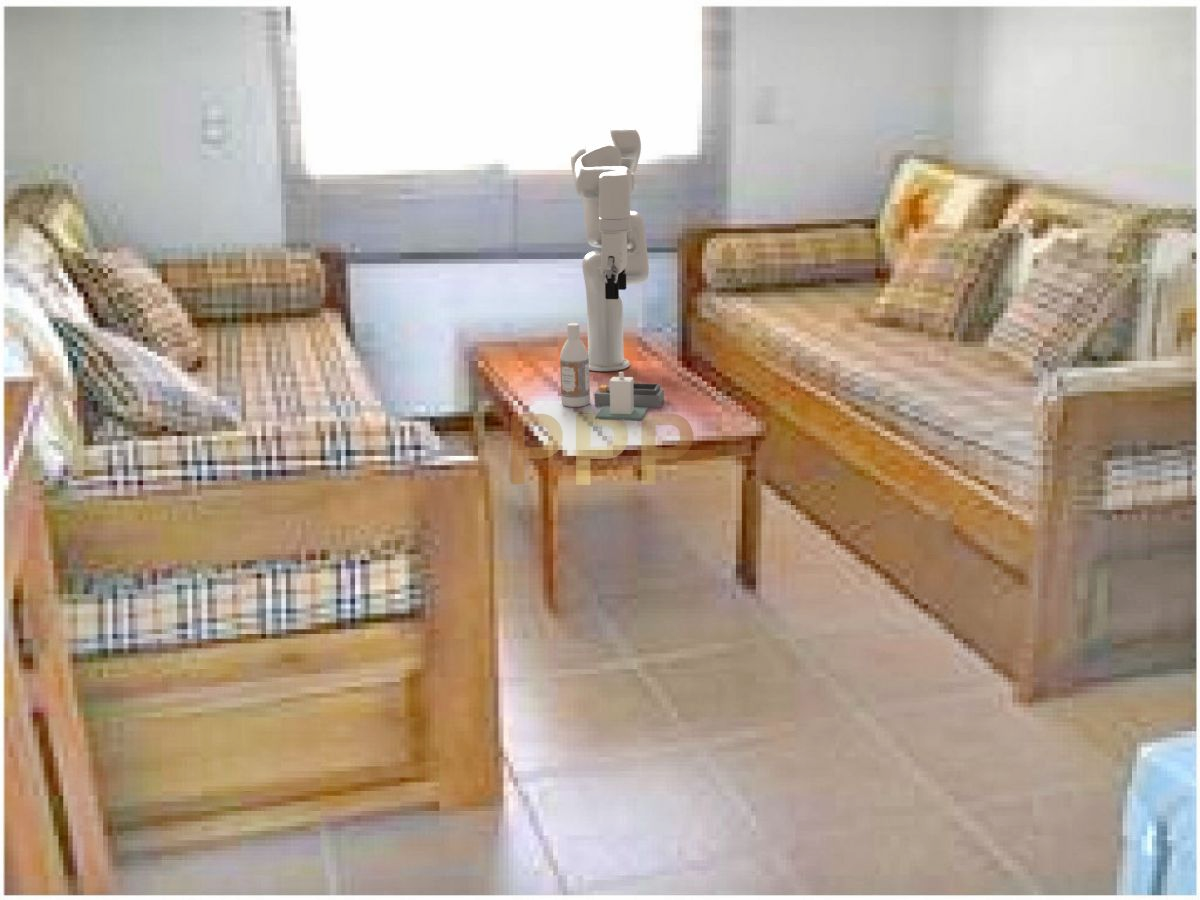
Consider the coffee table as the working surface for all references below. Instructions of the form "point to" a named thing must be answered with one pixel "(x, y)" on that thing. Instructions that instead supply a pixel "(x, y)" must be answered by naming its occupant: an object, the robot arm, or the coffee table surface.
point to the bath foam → (574, 370)
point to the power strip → (642, 395)
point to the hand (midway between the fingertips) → (616, 294)
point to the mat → (635, 415)
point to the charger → (621, 394)
